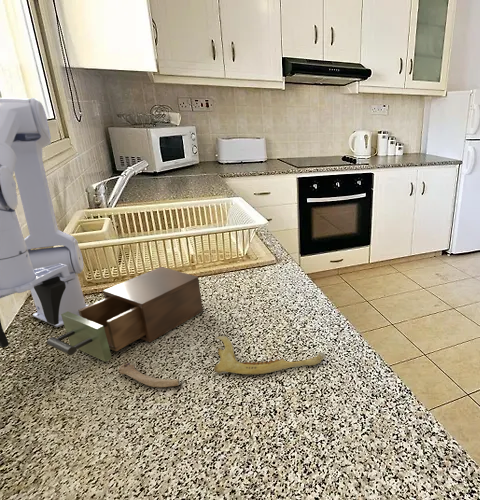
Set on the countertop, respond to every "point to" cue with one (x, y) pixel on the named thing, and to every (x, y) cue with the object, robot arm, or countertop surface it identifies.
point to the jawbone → (233, 366)
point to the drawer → (101, 328)
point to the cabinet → (161, 299)
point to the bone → (145, 377)
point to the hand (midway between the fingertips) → (29, 333)
